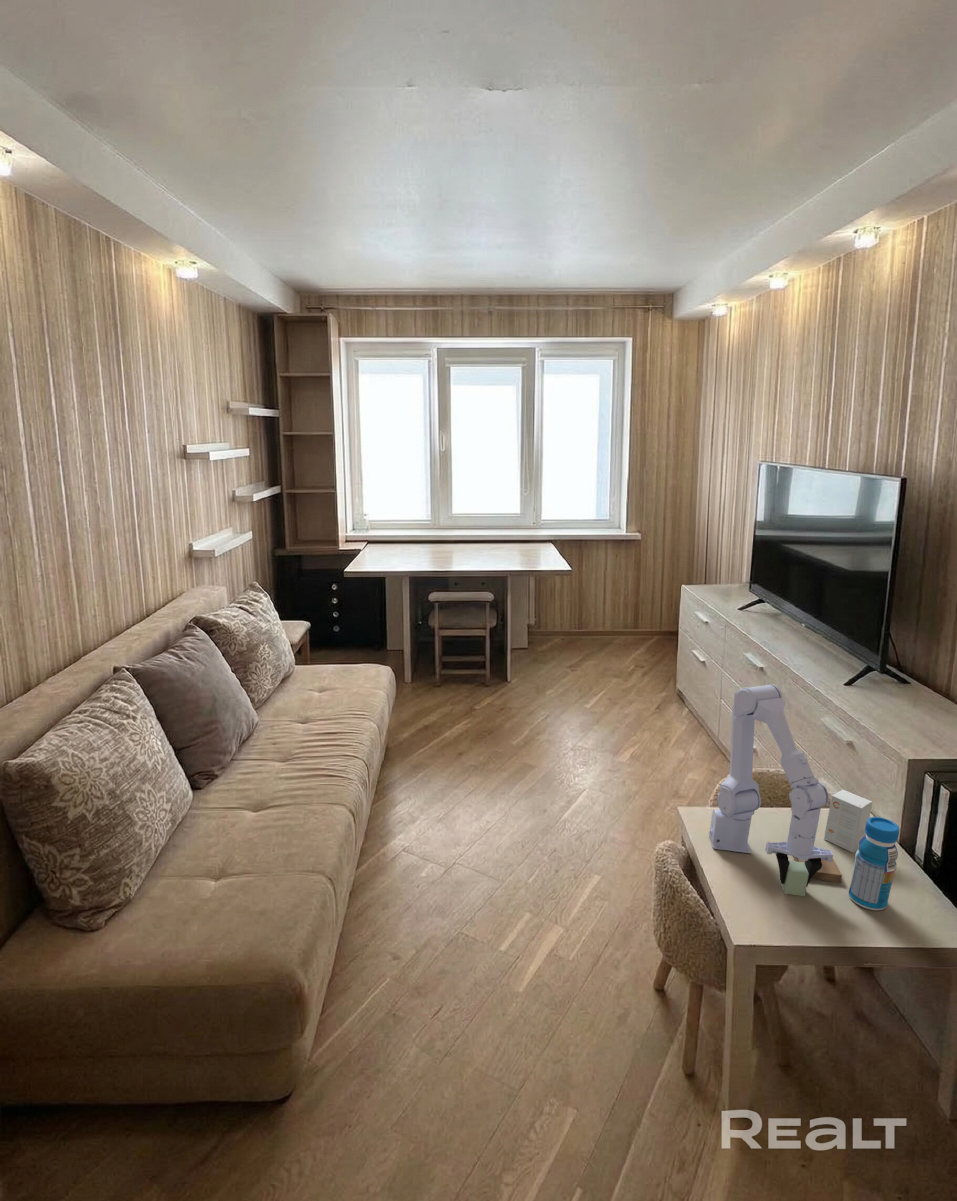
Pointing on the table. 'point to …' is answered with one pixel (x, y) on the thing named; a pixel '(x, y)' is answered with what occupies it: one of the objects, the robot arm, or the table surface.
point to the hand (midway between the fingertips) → (793, 883)
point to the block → (796, 879)
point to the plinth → (826, 871)
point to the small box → (847, 820)
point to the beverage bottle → (875, 864)
